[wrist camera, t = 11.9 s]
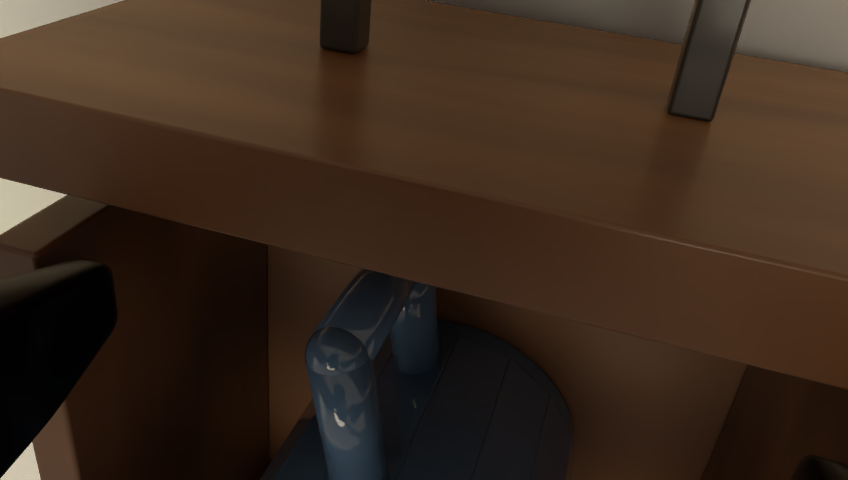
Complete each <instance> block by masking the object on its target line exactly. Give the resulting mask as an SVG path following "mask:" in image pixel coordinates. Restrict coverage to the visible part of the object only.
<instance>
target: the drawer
mask: <svg viewBox="0 0 848 480" xmlns="http://www.w3.org/2000/svg"><path fill="white" fill-rule="evenodd" d="M750 2H751V0H695V2H694V6H693V9H692V13H691V17H690V20H689V24H688V27H687V31H686V35H685V38H684V42H683V45H680V44H675V43H669V42H663V41H657V40H651V39H645V38H640V37H634V36H628V35H622V34H616V33H610V32H604V31H599V30H593V29H587V28H581V27H575V26H569V25H563V24H558V23H552V22H546V21H540V20H534V19H528V18H522V17H517V16H511V15H505V14H499V13H493V12H487V11H482V10H476V9H470V8H464V7H458V6H452V5H446V4H441V3H435V2H429V1H423V0H124V1H121V2H118V3H115V4H111V5H108V6H105V7H102V8H98V9H95V10H92V11H89V12H85V13H82V14H79V15H75V16H72V17H69V18H66V19H62V20H59V21H56V22H53V23H49V24H46V25H43V26H40V27H36V28H33V29H30V30H27V31H23V32H20V33H17V34H13V35H10V36H7V37H4V38H0V178H3V179H7V180H11V181H15V182H19V183H23V184H27V185H31V186H35V187H39V188H43V189H47V190H51V191H55V192H59V193H63V194H67V195H66V196H65V197H63V198H61V199H60V200H58V201H56V202H55V203H53V204H51V205H50V206H48V207H46V208H45V209H43V210H41V211H39V212H38V213H36V214H34V215H33V216H31V217H29V218H28V219H26V220H24V221H23V222H21V223H19V224H18V225H16V226H14V227H13V228H11V229H9V230H8V231H6V232H4V233H3V234H1V235H0V279H3V278H6V277H10V276H14V275H18V274H21V273H25V272H29V271H33V270H36V269H40V268H44V267H48V266H51V265H55V264H59V263H62V262H66V261H70V260H74V259H78V258H83V259H88V260H92V261H96V262H99V263H103V264H106V265H107V266H109V268H110V269H111V271H112V273H113V279H114V286H115V294H116V301H117V309H118V318H117V323H116V326H115V328H114V330H113V332H112V333H111V335H110V336H109V338H108V339H107V340H106V342H105V343H104V345H103V346H102V348H101V349H100V350H99V352H98V353H97V355H96V356H95V358H94V359H93V361H92V362H91V363H90V365H89V366H88V368H87V369H86V371H85V372H84V373H83V375H82V376H81V378H80V379H79V381H78V382H77V383H76V385H75V386H74V388H73V389H72V391H71V392H70V393H69V395H68V396H67V398H66V399H65V401H64V402H63V403H62V405H61V406H60V407H59V409H58V410H57V411H56V413H55V414H54V415H53V417H52V418H51V419H50V421H49V422H48V423H47V424H46V425H45V427H44V428H43V429H42V430H41V432H40V433H39V434H38V435H37V436H36V437H35V439H34V440H33V441H32V442H33V447H34V451H35V455H36V460H37V464H38V468H39V473H40V477H41V480H260V479H261V477H262V476H263V474H264V473H265V471H266V470H267V468H268V466H269V465H270V463H271V462H272V460H273V459H274V457H275V456H276V454H277V452H278V451H279V449H280V448H281V446H282V445H283V443H284V442H285V440H286V438H287V437H288V435H289V434H290V432H291V431H292V429H293V428H294V426H295V424H296V423H297V421H298V420H299V418H300V417H301V415H302V414H303V412H304V410H305V409H306V407H307V406H308V404H309V403H310V401H311V400H312V398H313V397H312V392H311V387H310V382H309V377H308V372H307V367H306V362H305V349H306V345H307V342H308V340H309V338H310V337H311V335H312V334H313V332H314V331H315V330H316V328H317V327H318V325H319V324H320V323H321V321H322V320H323V319H324V317H325V316H326V314H327V313H328V312H329V310H330V309H331V307H332V306H333V305H334V303H335V302H336V301H337V299H338V298H339V296H340V295H341V294H342V292H343V291H344V290H345V288H346V287H347V285H348V284H349V283H350V281H351V280H352V279H353V277H354V276H355V274H356V273H357V272H358V270H359V269H360V268H363V269H367V270H371V271H375V272H379V273H383V274H387V275H391V276H395V277H399V278H403V279H407V280H411V281H415V282H419V283H423V284H427V285H431V286H435V288H436V298H437V308H438V319H439V320H443V321H450V322H456V323H459V324H463V325H467V326H471V327H474V328H477V329H479V330H482V331H485V332H487V333H490V334H492V335H494V336H496V337H498V338H500V339H502V340H504V341H506V342H507V343H509V344H510V345H512V346H513V347H515V348H517V349H518V350H520V351H521V352H522V353H524V354H525V355H526V356H527V357H529V358H530V359H531V360H532V361H534V362H535V363H536V364H537V365H538V366H539V367H540V368H541V369H542V370H543V371H544V372H545V373H546V375H547V376H548V377H549V378H550V380H551V381H552V382H553V384H554V385H555V386H556V388H557V389H558V391H559V393H560V394H561V396H562V398H563V399H564V401H565V404H566V406H567V408H568V411H569V413H570V416H571V420H572V424H573V428H574V437H575V448H574V457H573V463H572V480H790V479H791V477H792V475H793V473H794V471H795V469H796V467H797V465H798V464H799V462H800V460H801V459H802V458H803V457H804V456H807V455H816V456H819V457H823V458H827V459H830V460H834V461H838V462H841V463H843V464H845V465H846V466H848V73H844V72H838V71H833V70H827V69H821V68H815V67H809V66H803V65H798V64H792V63H786V62H780V61H774V60H768V59H762V58H757V57H751V56H745V55H739V54H734V53H735V49H736V46H737V43H738V40H739V37H740V33H741V30H742V27H743V24H744V21H745V18H746V14H747V11H748V8H749V5H750Z"/></svg>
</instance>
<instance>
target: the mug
mask: <svg viewBox="0 0 848 480" xmlns="http://www.w3.org/2000/svg"><path fill="white" fill-rule="evenodd" d="M305 362H306V367H307V372H308V377H309V382H310V387H311V392H312V397H313V398H312V400H311V401H310V403H309V404H308V406H307V407H306V409H305V410H304V412H303V414H302V415H301V417H300V418H299V420H298V421H297V423H296V424H295V426H294V428H293V429H292V431H291V432H290V434H289V435H288V437H287V438H286V440H285V442H284V443H283V445H282V446H281V448H280V449H279V451H278V452H277V454H276V456H275V457H274V459H273V460H272V462H271V463H270V465H269V466H268V468H267V470H266V471H265V473H264V474H263V476H262V477H261V479H260V480H572V463H573V457H574V448H575V437H574V428H573V424H572V420H571V416H570V413H569V411H568V408H567V406H566V404H565V401H564V399H563V398H562V396H561V394H560V393H559V391H558V389H557V388H556V386H555V385H554V384H553V382H552V381H551V380H550V378H549V377H548V376H547V375H546V373H545V372H544V371H543V370H542V369H541V368H540V367H539V366H538V365H537V364H536V363H535V362H534V361H532V360H531V359H530V358H529V357H527V356H526V355H525V354H524V353H522V352H521V351H520V350H518V349H517V348H515V347H513V346H512V345H510V344H509V343H507V342H506V341H504V340H502V339H500V338H498V337H496V336H494V335H492V334H490V333H487V332H485V331H482V330H479V329H477V328H474V327H471V326H467V325H463V324H459V323H456V322H450V321H443V320H439V319H438V308H437V298H436V288H435V286H431V285H427V284H423V283H419V282H415V281H411V280H407V279H403V278H399V277H395V276H391V275H387V274H383V273H379V272H375V271H371V270H367V269H363V268H360V269H359V270H358V272H357V273H356V274H355V276H354V277H353V279H352V280H351V281H350V283H349V284H348V285H347V287H346V288H345V290H344V291H343V292H342V294H341V295H340V296H339V298H338V299H337V301H336V302H335V303H334V305H333V306H332V307H331V309H330V310H329V312H328V313H327V314H326V316H325V317H324V319H323V320H322V321H321V323H320V324H319V325H318V327H317V328H316V330H315V331H314V332H313V334H312V335H311V337H310V338H309V340H308V342H307V345H306V349H305Z"/></svg>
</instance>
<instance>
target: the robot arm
mask: <svg viewBox="0 0 848 480" xmlns="http://www.w3.org/2000/svg"><path fill="white" fill-rule="evenodd" d="M117 318H118V309H117V301H116V294H115V286H114V279H113V273H112V271H111V269H110V268H109V266H107V265H106V264H103V263H99V262H96V261H92V260H88V259H83V258H78V259H74V260H70V261H66V262H62V263H59V264H55V265H51V266H48V267H44V268H40V269H36V270H33V271H29V272H25V273H21V274H18V275H14V276H10V277H6V278H3V279H0V478H1V477H2V476H3V475H4V474H5V472H6V471H7V470H8V469H9V468H10V467H11V465H12V464H13V463H14V462H15V461H16V460H17V458H18V457H19V456H20V455H21V454H22V453H23V451H24V450H25V449H26V448H27V447H28V446H29V444H30V443H31V442H32V441H33V440H34V439H35V437H36V436H37V435H38V434H39V433H40V432H41V430H42V429H43V428H44V427H45V425H46V424H47V423H48V422H49V421H50V419H51V418H52V417H53V415H54V414H55V413H56V411H57V410H58V409H59V407H60V406H61V405H62V403H63V402H64V401H65V399H66V398H67V396H68V395H69V393H70V392H71V391H72V389H73V388H74V386H75V385H76V383H77V382H78V381H79V379H80V378H81V376H82V375H83V373H84V372H85V371H86V369H87V368H88V366H89V365H90V363H91V362H92V361H93V359H94V358H95V356H96V355H97V353H98V352H99V350H100V349H101V348H102V346H103V345H104V343H105V342H106V340H107V339H108V338H109V336H110V335H111V333H112V332H113V330H114V328H115V326H116V323H117ZM790 480H848V466H846V465H845V464H843V463H841V462H838V461H834V460H830V459H827V458H823V457H819V456H816V455H807V456H804V457H803V458H802V459H801V460H800V462H799V464H798V465H797V467H796V469H795V471H794V473H793V475H792V477H791V479H790Z"/></svg>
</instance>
